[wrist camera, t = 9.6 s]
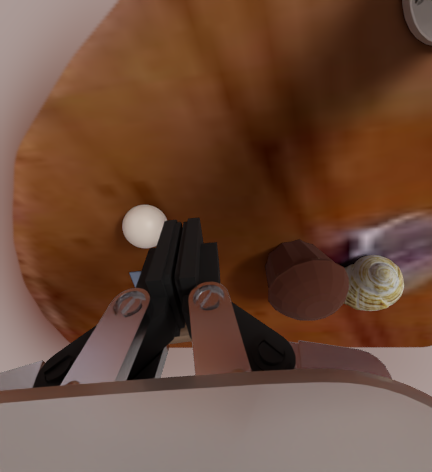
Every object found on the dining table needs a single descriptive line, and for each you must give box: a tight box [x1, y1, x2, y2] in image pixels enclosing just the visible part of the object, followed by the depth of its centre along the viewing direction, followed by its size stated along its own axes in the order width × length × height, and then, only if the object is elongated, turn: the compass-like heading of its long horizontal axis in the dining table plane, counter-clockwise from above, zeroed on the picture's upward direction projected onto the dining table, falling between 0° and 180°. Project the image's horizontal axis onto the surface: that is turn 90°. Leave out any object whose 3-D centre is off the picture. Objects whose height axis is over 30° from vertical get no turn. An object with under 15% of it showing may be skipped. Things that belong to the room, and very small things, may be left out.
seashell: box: [344, 255, 404, 311], centre depth 37 cm, size 10×10×10 cm
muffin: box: [265, 240, 349, 320], centre depth 33 cm, size 12×11×10 cm
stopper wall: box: [169, 325, 192, 344], centre depth 44 cm, size 2×10×2 cm, turn 95°
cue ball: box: [122, 205, 167, 248], centre depth 28 cm, size 6×6×6 cm
